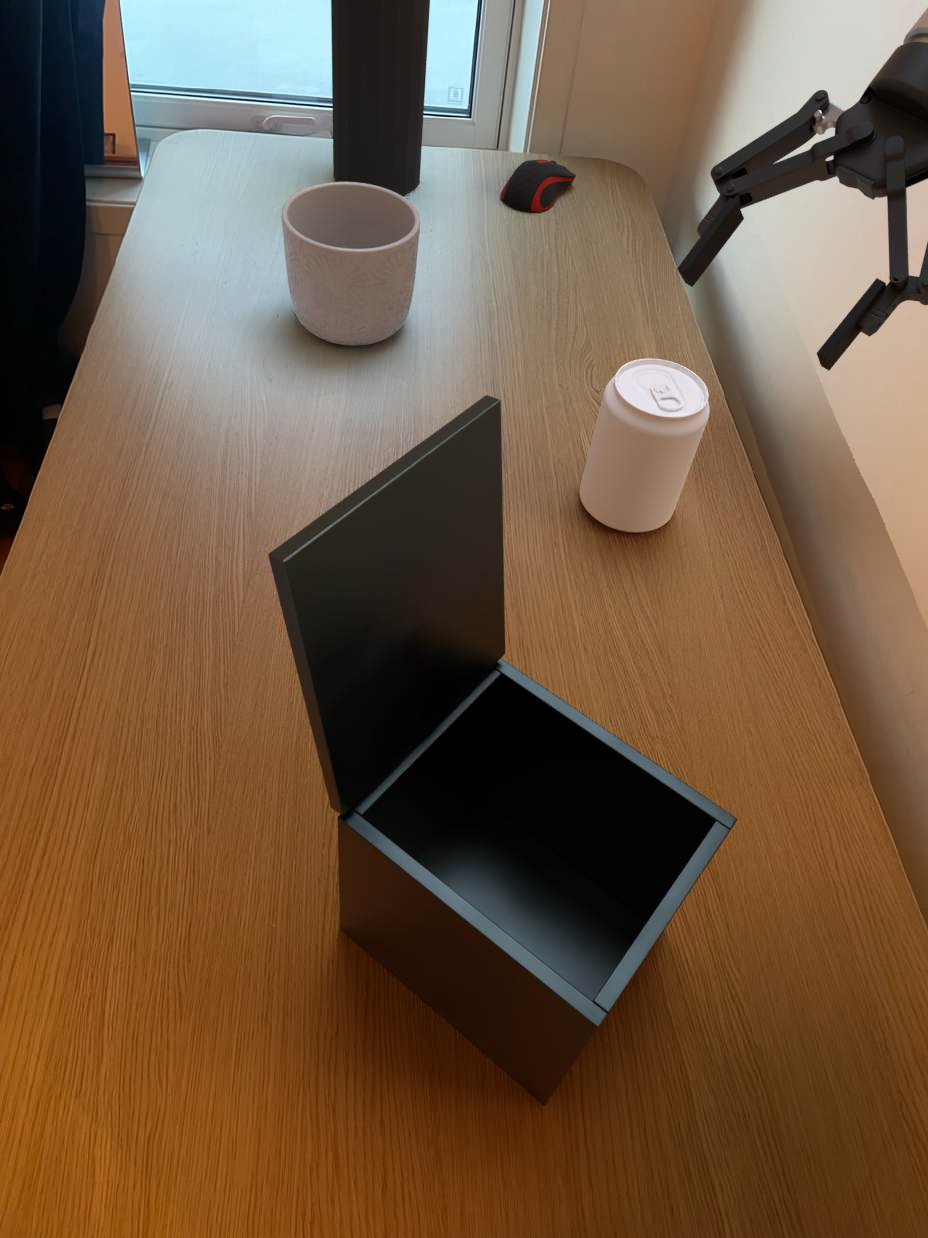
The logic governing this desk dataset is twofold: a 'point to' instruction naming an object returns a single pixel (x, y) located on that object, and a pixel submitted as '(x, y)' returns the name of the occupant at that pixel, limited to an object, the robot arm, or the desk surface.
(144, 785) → the desk surface
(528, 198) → the computer mouse
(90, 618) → the desk surface
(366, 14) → the vase
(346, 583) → the bin lid
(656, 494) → the beverage can
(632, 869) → the trash bin
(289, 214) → the planter
